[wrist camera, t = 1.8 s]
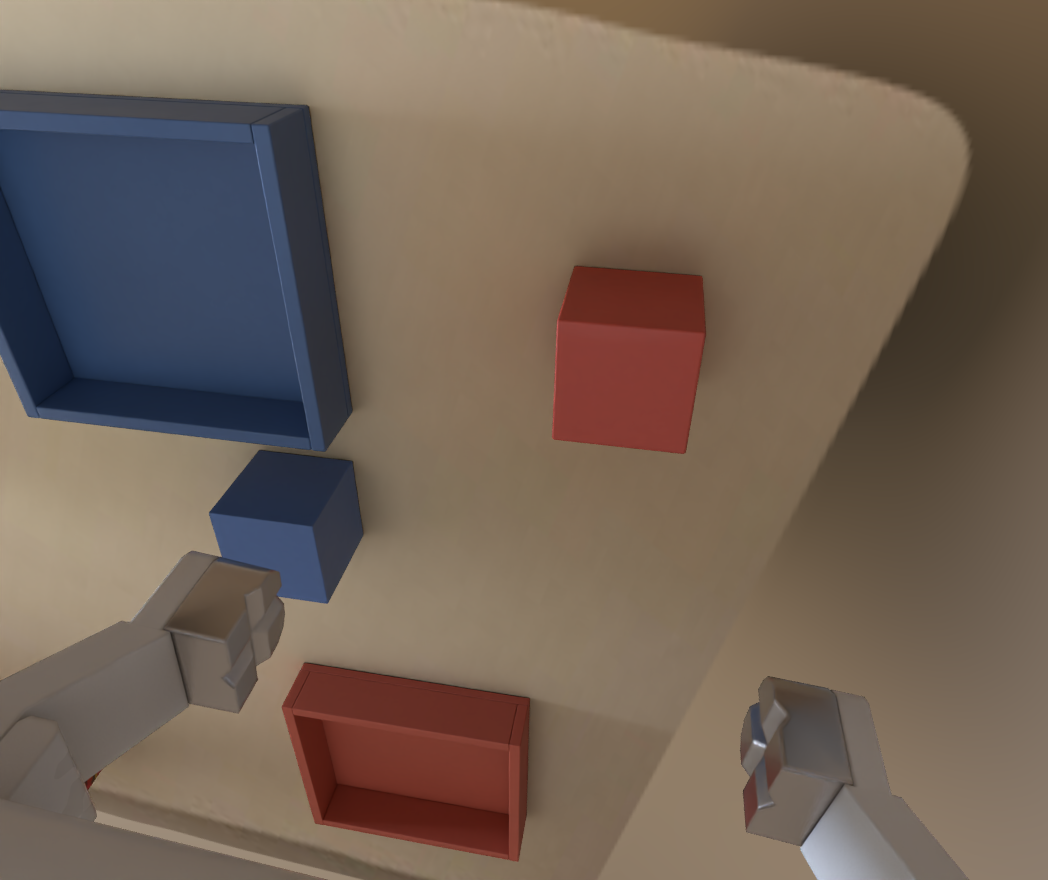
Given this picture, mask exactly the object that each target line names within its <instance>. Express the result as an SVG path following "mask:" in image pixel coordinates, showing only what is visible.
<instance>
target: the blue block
mask: <svg viewBox="0 0 1048 880" xmlns="http://www.w3.org/2000/svg"><path fill="white" fill-rule="evenodd" d="M209 516H210V519H211V522H212V525H213V529H214V532H215V535H216V539H217V542H218V545H219V548H220V552H221V555H222V557H223V558H227V559H231V560H235V561H239V562H243V563H247V564H251V565H255V566H259V567H264V568H268V569H272V570H275V571H278V572H280V577H281V583H282V586H281V588H280V589H279V591H278V593H277V596H278V597H285V598H292V599H299V600H305V601H312V602H319V603H326V604H328V602H329V600H330V598H331V596H332V595H333V593H334V591H335V589H336V587H337V585H338V583H339V581H340V579H341V577H342V575H343V573H344V571H345V570H346V568H347V566H348V564H349V562H350V560H351V558H352V556H353V554H354V552H355V550H356V548H357V546H358V545H359V543H360V541H361V539H362V537H363V530H362V523H361V516H360V510H359V503H358V496H357V490H356V483H355V476H354V470H353V463H352V461H346V460H337V459H329V458H320V457H312V456H303V455H295V454H287V453H278V452H270V451H261V450H259V451H258V452H257V454H256V455H255V456H254V457H253V459H252V460H251V461H250V462H249V464H248V465H247V466H246V467H245V468H244V470H243V471H242V472H241V473H240V475H239V476H238V477H237V478H236V480H235V481H234V482H233V483H232V485H231V486H230V487H229V488H228V490H227V491H226V492H225V493H224V495H223V496H222V497H221V498H220V500H219V501H218V502H217V503H216V505H215V506H214V507H213V508H212V510H211V511H210V512H209Z"/></svg>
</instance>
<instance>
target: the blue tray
mask: <svg viewBox="0 0 1048 880" xmlns="http://www.w3.org/2000/svg"><path fill="white" fill-rule="evenodd" d="M0 355H1V358H2V360H3V362H4V364H5V367H6V369H7V371H8V373H9V375H10V378H11V380H12V382H13V384H14V387H15V389H16V391H17V393H18V396H19V398H20V400H21V402H22V405H23V407H24V409H25V411H26V414H27V416H28V417H33V418H42V419H50V420H59V421H67V422H76V423H84V424H93V425H101V426H110V427H118V428H127V429H136V430H144V431H153V432H161V433H170V434H178V435H187V436H195V437H204V438H212V439H221V440H229V441H238V442H246V443H255V444H263V445H272V446H280V447H289V448H297V449H306V450H311V449H312V450H314V451H323V452H325V451H326V450H327V449H328V447H329V446H330V444H331V443H332V441H333V440H334V438H335V437H336V435H337V434H338V432H339V431H340V429H341V428H342V426H343V425H344V423H345V422H346V420H347V419H348V417H349V416H350V415H351V413H352V406H351V399H350V392H349V385H348V378H347V371H346V364H345V357H344V350H343V343H342V336H341V329H340V322H339V315H338V308H337V302H336V295H335V288H334V281H333V274H332V267H331V260H330V253H329V246H328V239H327V232H326V225H325V218H324V211H323V204H322V197H321V190H320V183H319V176H318V169H317V162H316V155H315V148H314V141H313V134H312V127H311V120H310V113H309V107H308V106H307V105H288V104H269V103H250V102H230V101H211V100H191V99H172V98H153V97H133V96H114V95H94V94H75V93H55V92H36V91H17V90H0Z"/></svg>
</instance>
